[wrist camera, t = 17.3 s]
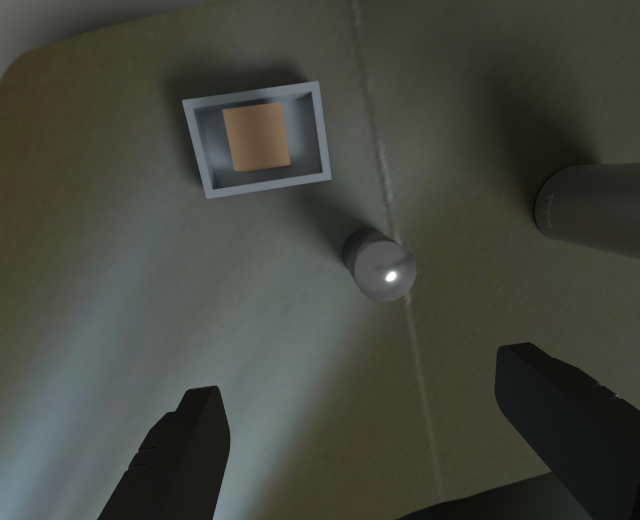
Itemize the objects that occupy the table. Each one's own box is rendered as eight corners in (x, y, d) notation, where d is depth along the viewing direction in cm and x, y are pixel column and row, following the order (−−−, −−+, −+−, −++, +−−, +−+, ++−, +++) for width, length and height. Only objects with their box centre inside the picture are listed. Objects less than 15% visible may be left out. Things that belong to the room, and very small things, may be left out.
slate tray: (316, 89, 31) (318, 80, 29) (328, 179, 34) (331, 179, 31) (192, 107, 31) (181, 100, 28) (214, 197, 33) (206, 198, 31)
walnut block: (283, 115, 31) (281, 102, 25) (290, 165, 33) (290, 163, 27) (235, 122, 31) (222, 109, 25) (245, 171, 32) (234, 170, 27)
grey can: (388, 225, 36) (414, 238, 28) (392, 272, 38) (418, 296, 30) (339, 233, 36) (352, 248, 28) (346, 280, 37) (359, 306, 30)
